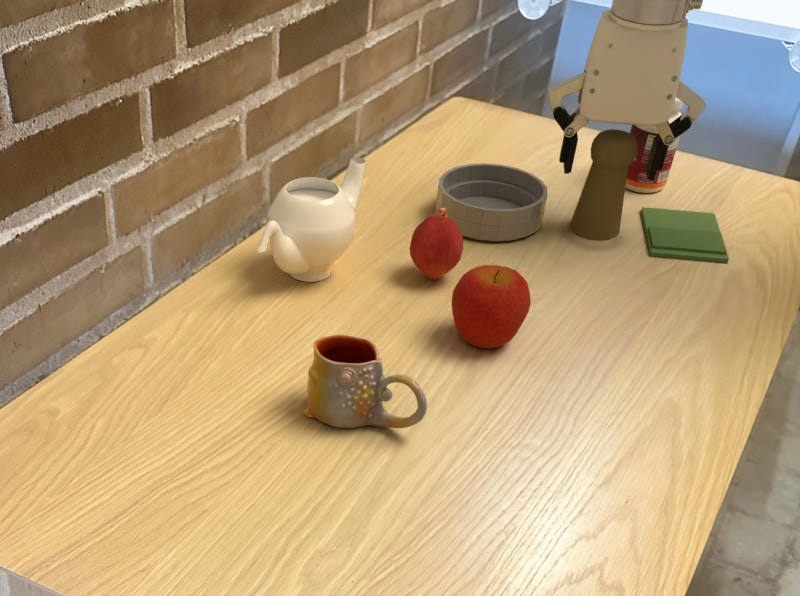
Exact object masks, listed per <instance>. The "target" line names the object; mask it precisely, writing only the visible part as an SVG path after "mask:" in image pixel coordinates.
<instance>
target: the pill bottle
mask: <svg viewBox="0 0 800 596" xmlns="http://www.w3.org/2000/svg"><path fill="white" fill-rule="evenodd" d="M684 105H685V103H683V102H682V101H681V100H679V99H678V98H677V97H676V99H675V103H674V107H673V110H672V113H671V116H670V118H669V120H668V122H669V124H670V123H671V122H673V121H674V120H675V119H677V118H678V117H679V116H681V115H682V114H683V113H681V112H680V111H681V110H682V109H683V107H684ZM629 133H630V134H632V135H633V136H634V137H635V138H636V141H637V154H636V157H635V159H634V161H633V162H632V163H631V164H630V165H629V166H628V171H627V178H626V186H625V189H627V190H630V191H633V192H635V193H641V194H642V193H643V194H651V193H657V192H659V191H662V190H663V189H664V188H665V187H666V185H667V182H668V179H669V176H670V173H671V168H672V165H673V163H674V159H675V156H676V152H677V148H678V144H679V142H680V138H681V135H680V136H679V137H677V138H676V139H674V142H673V143H672V144H671V145H669V147H668V150H667V154H666V157H665V161H664V164H663V168H662V170H661V171H657V172H656V176H655V179H654V181H649V179H647V174H646V165H647V161H648V158H649V154H650V150H651V147H652V143H653V139H654V137H656V134H657V135H658V131H657V129H656V127H655V126H641V125H630V130H629Z"/></svg>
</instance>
